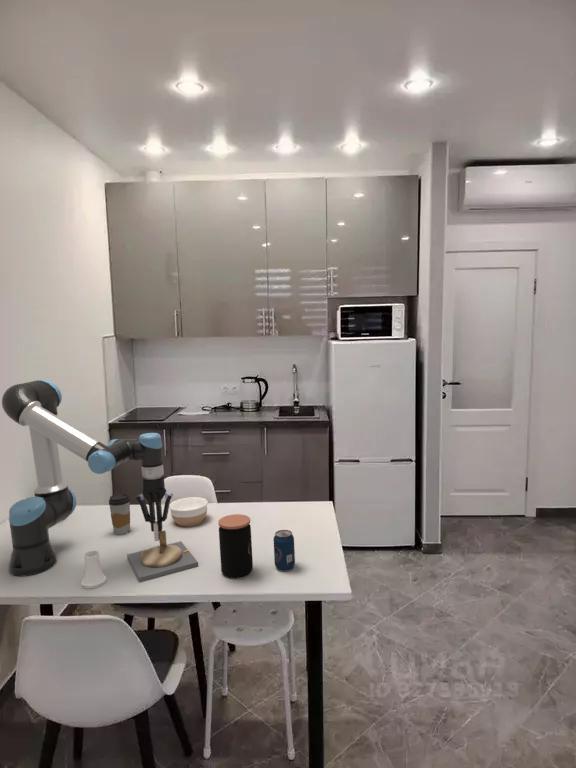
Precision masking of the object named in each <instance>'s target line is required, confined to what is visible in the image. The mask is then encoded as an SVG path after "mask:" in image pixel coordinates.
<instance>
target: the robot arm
mask: <svg viewBox="0 0 576 768" xmlns="http://www.w3.org/2000/svg"><path fill="white" fill-rule="evenodd" d="M62 396H63V395H62V392H61V390H60V388H59V387H58V386H57V384H55V383H54V382H53V381H51V380H47V379H38V380H32V381H28V382H27V381H26V382H24V383H16V384H13V385H11V386H10V387H9V388H7V389H6V390H5V392H4V393H3V394H2V398H1V406H2V408H3V411H4V413H5V414H6V415H7V416H8V418H10V419H11V420H12V421H14V423H17V424H18V425H20V426H23V427H26V426H28V428H29V429H28V430H29V434H30V435H29V436H30V440H31V441H30V442H31V447H32V453H33V455H32V456H33V462H34V468H35V475H36V481H37V486H36V488H35V489H34V496H31V497H26V498H25V499H24V498H23V499H21V500H19V501H16V502H15V503H13V504H12V505H11V506H10V508H9V510H8V522H9V527H10V535H11V536H10V537H11V544H12V551H11V555H10V560H9V564H8V568H9V569H8V570H9V573H10V574H11V573H12V575H13V574H14V575H13V576H17V575H26V576H32V575H36V573H37V574H39V573H43V572H45V571H47V570H49V569H50V567H51V568H53V567H54V566H55V565H56V563H57V561H58V560H57V559H58V558H57V553H56V551H55V549H54V548H53V545H52V543H51V541H50V536H49V529H51V528H52V527H54V526H56V525H57V524H59V523H61V522H63V521H64V520H66V519H67V518H68V517H70V516H71V515H72V514H73V513H74V511H75V509H76V507H77V497H76V494H75V492H73V491H72V489H71V488H70V487H69V486H68V483H66V482H65V481H63V474H62V466H61V460H60V453H59V446H61V447H63V448H64V449H66V450H68V451H70V452H71V453H73V454H74V455H76V456H77V457H80V458H82V459H83V460H84V461H86V462H87V466H88V468H89V470H90V471H91V472H92V473H94V474H97V475H103V474H105V473H107V472H110V471H112V470H113V469H115V468H116V467H118V466H120V465H122V464H124V463H126V462H128V461H140V463H141V464H140V465H141V475H142V476H141V477H142V491H141V494H138V495H137V496H136V498H135V499H136V501H138V503H139V506H140V508H141V512H142V515H143V518H144V521H145V522H146V523H150V531H151V532H152V533H153V536H154V537H153V539H154V542H160V540H159V531H163V523H164V522H165V521H166V520H167V518H168V514H169V509H170V507H169V506H170V504H171V499H172V498H173V496H174V494H173V493H169V492H167V489H166V488H165V485H166V484H165V477H164V474H165V472H164V461H163V459H164V458H163V457H164V456H163V443H162V435H161V434H159V433H158V432H147V433H142V434H140V435H139V438H137V439H132V438H131V439H129V438H127V439H125V438H118V439H117V438H115V439H111V440H109V443H108V444H107V445H106V444H104V443H102V442H101V441H99V440H97V439H95V438H94V437H92V436H90V435H89V434H87V433H86V432H84V431H82V430H81V429H79V428H77V427H76V426H74V425H72V424H71V423H69V422H68V421H66V420H64V419H62V418H61V417H59V416H58V414H59V413H58V407H59V406H60V405H61V403H62V400H63V399H62V398H63V397H62ZM58 445H59V446H58ZM163 498H164V499H165V502H164V505H163V508H162V500H163ZM146 501H148V502H146ZM147 503H148V506H147ZM162 509H163V510H162ZM54 564H55V565H54ZM53 565H54V566H53ZM31 574H32V575H31Z"/></svg>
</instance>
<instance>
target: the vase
mask: <svg viewBox="0 0 576 768" xmlns="http://www.w3.org/2000/svg"><path fill="white" fill-rule="evenodd" d="M83 559H84V560H83V561H84V575H83V579H82V580H81V587H82V588H84V589H89V590H90V589H96V588H98V587H101V586H103V585H104V584H105V583H106V582H107V576H106V575H104V573H103V571H102V569H101V564H100V552H99V551H98V550H90V551H87V552H85V553H83Z"/></svg>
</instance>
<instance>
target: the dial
mask: <svg viewBox="0 0 576 768" xmlns="http://www.w3.org/2000/svg"><path fill="white" fill-rule="evenodd" d="M147 549H148V550H147ZM147 549H145V550H146V551H144V552H143V553H142V554H141V563H142V564H143V565H145V566H148V567H163V566H167V565H170V564H173V563H175V562H177V561H178V560H179V559H180V558H181V556H182V551H181V549H180V548H179V547H177V546H174V545H168V542H167V532H166V530H163V529H162V531H159V545H156V547H155V546H153V547H149V548H147Z"/></svg>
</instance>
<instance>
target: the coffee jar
mask: <svg viewBox="0 0 576 768" xmlns="http://www.w3.org/2000/svg"><path fill="white" fill-rule="evenodd" d="M217 521H218V523H217V524H218V526H219V527H218V538H219V557H220V570H221V573H222V575H223V576H225V577H227V578H230V579H241V578H245V577H247V576H249V575H250V574H251V573H252V570H253V568H254V564H253V546H252V545H253V544H252V527H251V526H252V525H251V518H250V516H249V515H245V514H241V513H240V514H239V513H237V514H229V515H226V516H222V517H221V518H219V520H217Z"/></svg>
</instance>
